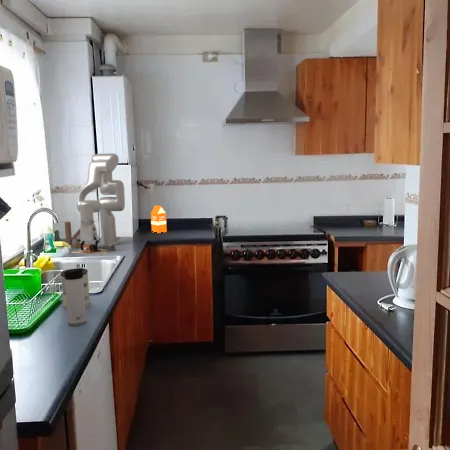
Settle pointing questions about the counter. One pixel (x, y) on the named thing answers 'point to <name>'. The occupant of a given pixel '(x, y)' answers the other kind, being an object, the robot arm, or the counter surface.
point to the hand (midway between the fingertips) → (89, 250)
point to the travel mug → (75, 297)
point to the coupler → (88, 248)
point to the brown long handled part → (69, 237)
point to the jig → (100, 249)
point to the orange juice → (158, 219)
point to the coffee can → (86, 288)
